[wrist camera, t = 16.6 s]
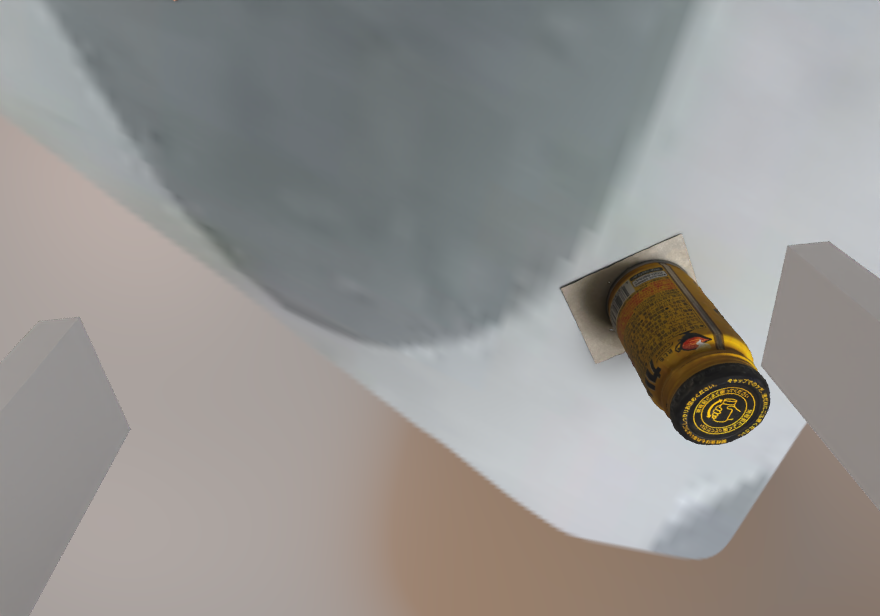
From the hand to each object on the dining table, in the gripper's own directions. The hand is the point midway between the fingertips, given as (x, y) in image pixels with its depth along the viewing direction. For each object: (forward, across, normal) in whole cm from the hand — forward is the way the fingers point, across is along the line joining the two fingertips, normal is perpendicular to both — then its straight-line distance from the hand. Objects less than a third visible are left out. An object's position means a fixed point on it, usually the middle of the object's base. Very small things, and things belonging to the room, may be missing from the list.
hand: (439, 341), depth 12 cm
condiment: (+27, +14, -17) cm, 34 cm away
